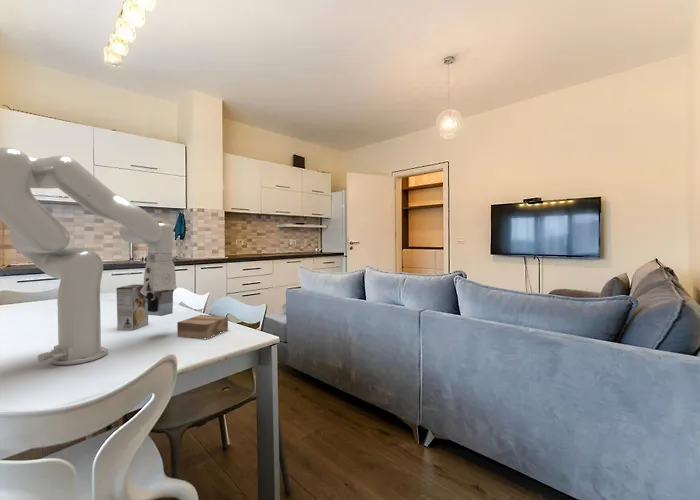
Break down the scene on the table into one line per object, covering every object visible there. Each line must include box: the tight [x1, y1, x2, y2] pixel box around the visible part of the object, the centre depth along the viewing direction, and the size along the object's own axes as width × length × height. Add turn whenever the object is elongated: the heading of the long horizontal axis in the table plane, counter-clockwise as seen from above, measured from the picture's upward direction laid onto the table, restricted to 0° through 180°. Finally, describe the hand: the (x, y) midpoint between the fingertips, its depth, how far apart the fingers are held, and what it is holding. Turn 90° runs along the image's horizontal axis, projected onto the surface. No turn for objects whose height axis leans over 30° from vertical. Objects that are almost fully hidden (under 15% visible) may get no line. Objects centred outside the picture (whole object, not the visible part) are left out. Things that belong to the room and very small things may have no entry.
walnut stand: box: [176, 314, 229, 340], centre depth 122 cm, size 12×12×5 cm
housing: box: [145, 291, 174, 317], centre depth 117 cm, size 5×7×8 cm
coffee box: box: [116, 284, 149, 331], centre depth 129 cm, size 9×6×16 cm
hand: (158, 309), depth 117 cm, fingers closed on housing, 5 cm apart
